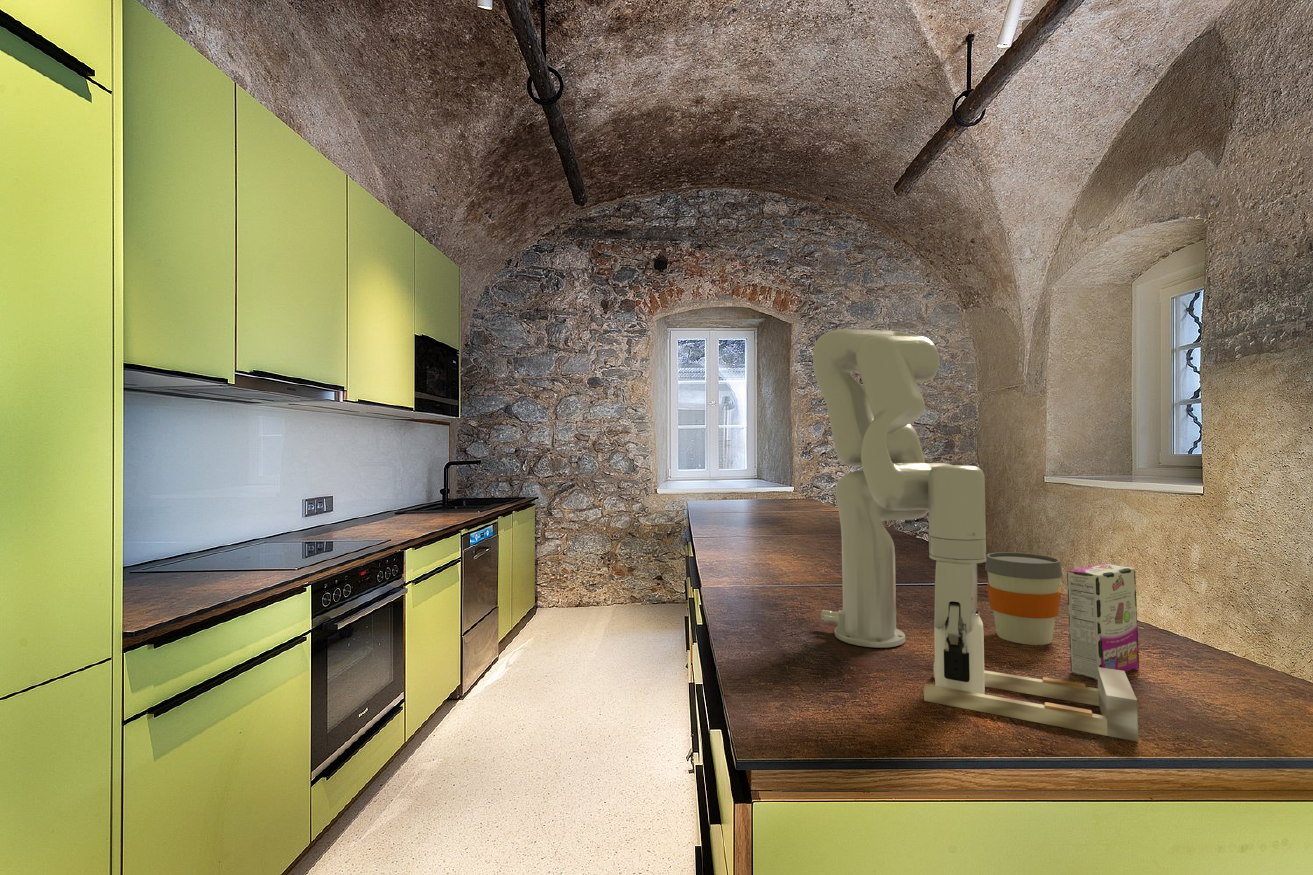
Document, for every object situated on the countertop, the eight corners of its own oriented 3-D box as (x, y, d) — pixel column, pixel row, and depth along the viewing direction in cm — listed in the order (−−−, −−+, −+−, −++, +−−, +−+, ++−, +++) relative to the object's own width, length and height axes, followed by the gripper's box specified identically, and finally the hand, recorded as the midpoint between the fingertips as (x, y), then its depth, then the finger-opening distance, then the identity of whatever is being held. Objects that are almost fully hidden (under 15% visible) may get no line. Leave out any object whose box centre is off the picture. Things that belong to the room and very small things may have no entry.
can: (991, 703, 85) (989, 617, 86) (941, 699, 87) (940, 615, 87) (976, 685, 92) (975, 605, 92) (930, 682, 93) (929, 603, 93)
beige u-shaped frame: (924, 700, 86) (923, 665, 87) (934, 675, 96) (934, 643, 96) (1138, 741, 74) (1137, 700, 74) (1125, 707, 84) (1124, 670, 84)
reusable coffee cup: (984, 641, 113) (982, 559, 113) (988, 624, 124) (986, 550, 124) (1065, 652, 106) (1063, 566, 107) (1062, 633, 117) (1060, 555, 117)
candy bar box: (1105, 660, 102) (1103, 562, 103) (1140, 670, 98) (1138, 567, 98) (1067, 672, 97) (1065, 569, 97) (1102, 683, 93) (1099, 574, 93)
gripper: (936, 539, 99) (938, 650, 99) (920, 556, 84) (923, 686, 84) (989, 543, 95) (991, 658, 95) (982, 560, 80) (984, 697, 80)
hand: (959, 670), depth 89 cm, fingers closed on can, 6 cm apart
